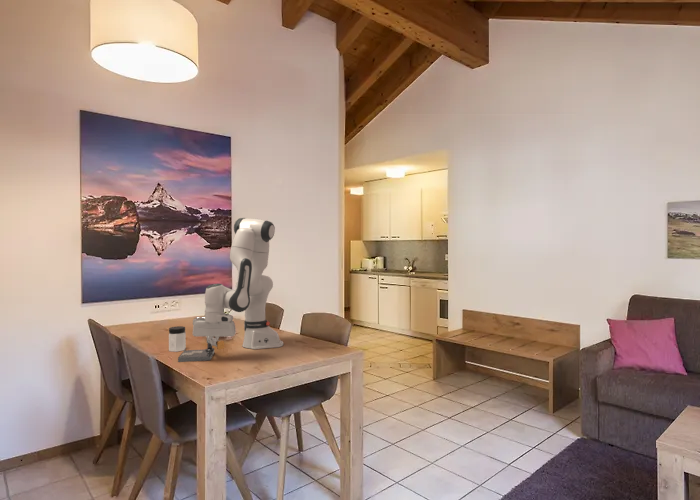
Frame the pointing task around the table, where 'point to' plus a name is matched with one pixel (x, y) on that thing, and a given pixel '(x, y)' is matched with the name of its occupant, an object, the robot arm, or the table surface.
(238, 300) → the robot arm
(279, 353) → the table surface
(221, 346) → the bar
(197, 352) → the chassis plate
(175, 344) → the jar
